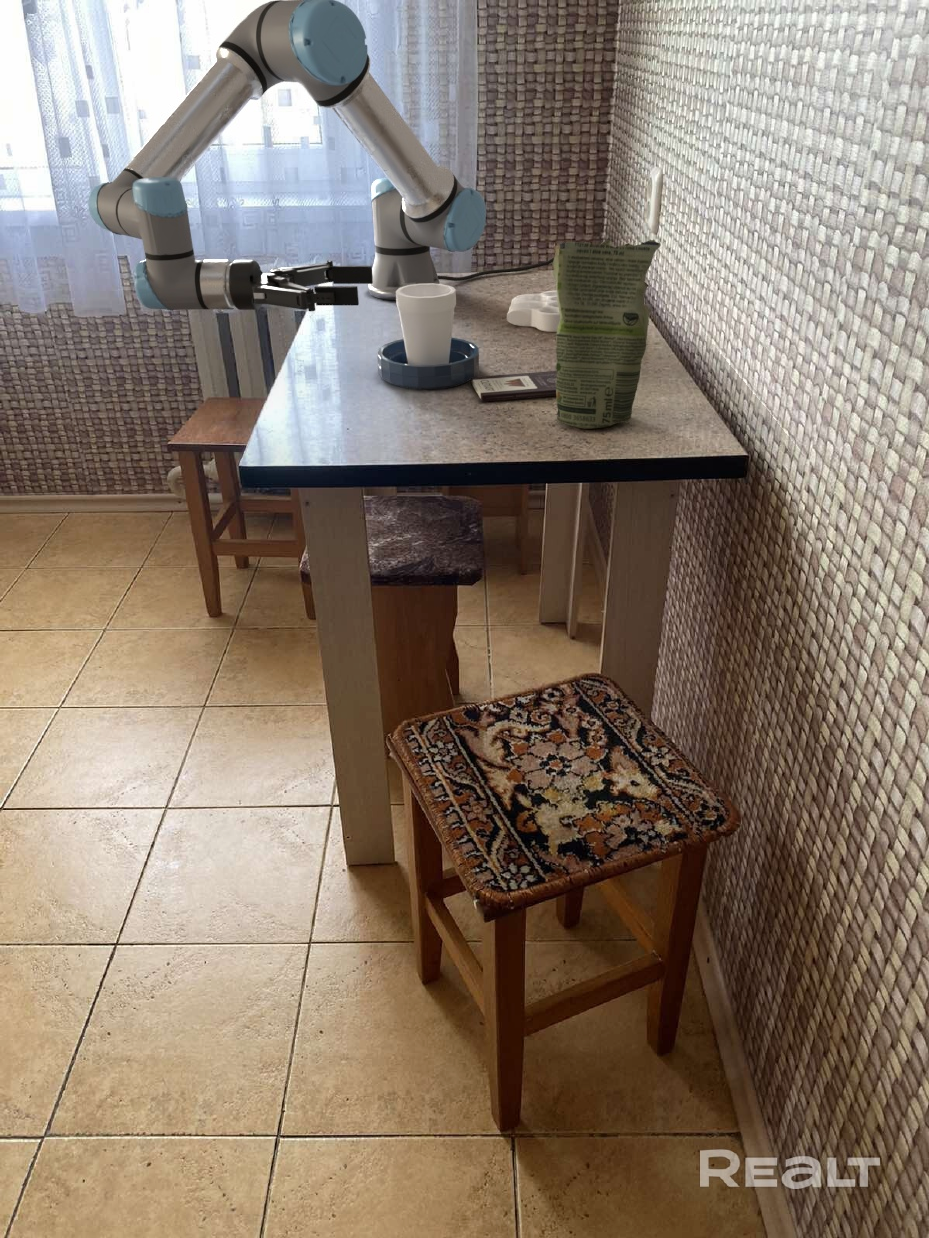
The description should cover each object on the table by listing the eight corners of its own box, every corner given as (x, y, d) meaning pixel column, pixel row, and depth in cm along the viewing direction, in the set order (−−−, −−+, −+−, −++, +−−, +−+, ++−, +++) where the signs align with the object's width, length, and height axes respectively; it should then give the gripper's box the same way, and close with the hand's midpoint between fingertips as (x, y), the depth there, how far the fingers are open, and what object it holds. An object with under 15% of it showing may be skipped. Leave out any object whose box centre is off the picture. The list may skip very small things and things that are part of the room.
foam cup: (450, 381, 151) (448, 298, 144) (394, 379, 153) (389, 297, 146) (461, 363, 159) (460, 284, 152) (408, 361, 161) (404, 282, 154)
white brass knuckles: (513, 306, 192) (585, 308, 191) (504, 331, 177) (583, 333, 176) (513, 289, 191) (586, 290, 189) (505, 313, 176) (583, 314, 174)
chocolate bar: (595, 386, 147) (482, 395, 144) (594, 392, 147) (482, 401, 145) (578, 369, 154) (471, 377, 152) (578, 374, 155) (471, 383, 152)
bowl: (442, 353, 166) (441, 330, 164) (499, 377, 155) (499, 353, 153) (360, 372, 158) (358, 348, 156) (414, 398, 147) (413, 373, 145)
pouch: (539, 417, 139) (544, 238, 125) (597, 399, 145) (608, 226, 131) (592, 439, 131) (604, 251, 118) (651, 419, 137) (668, 238, 124)
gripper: (257, 290, 163) (378, 289, 162) (215, 331, 143) (353, 331, 141) (251, 244, 159) (375, 243, 158) (206, 279, 139) (348, 279, 137)
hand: (365, 285), depth 149 cm, fingers open, 13 cm apart
